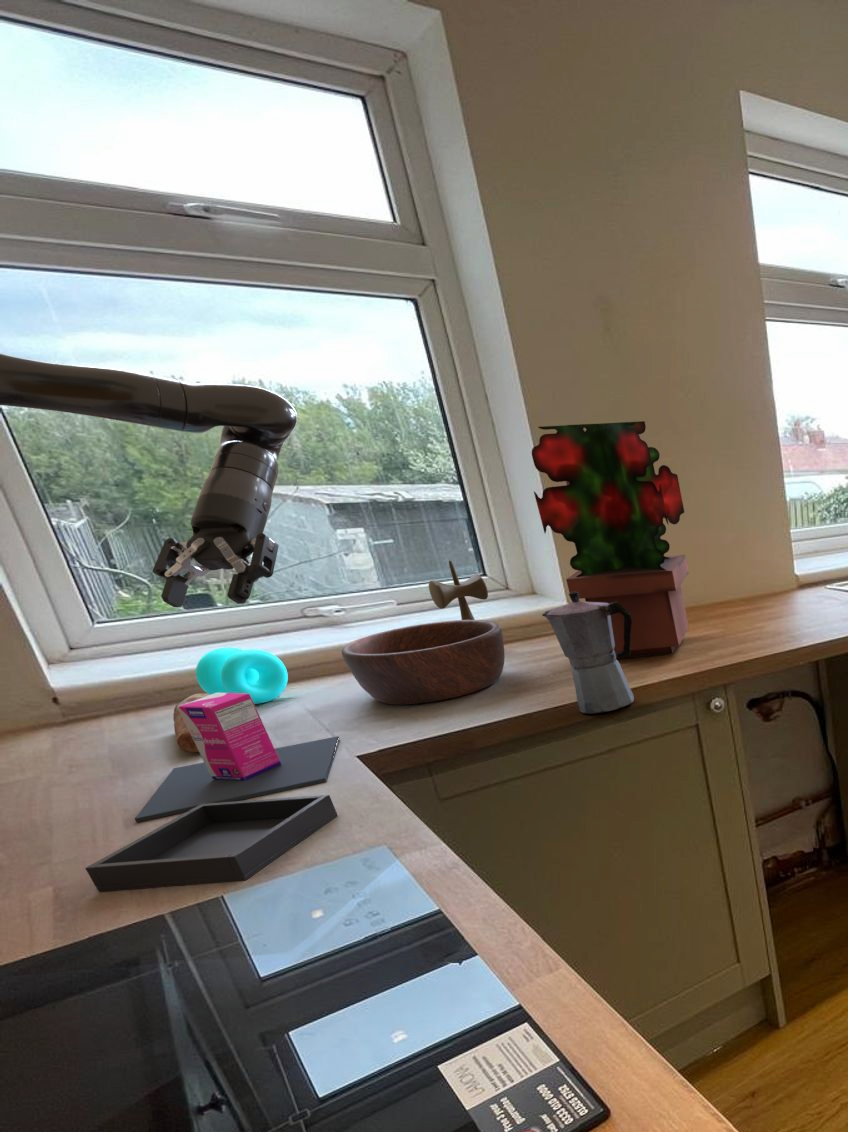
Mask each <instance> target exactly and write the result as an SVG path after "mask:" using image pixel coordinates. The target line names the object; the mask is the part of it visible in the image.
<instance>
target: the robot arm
mask: <svg viewBox="0 0 848 1132" xmlns="http://www.w3.org/2000/svg"><path fill="white" fill-rule="evenodd" d="M0 406H3V407H4V406H5V407H15V408H17V407H18V408H27V409H35V410H36V409H37V410H46V411H54V412H61V413H68V414H75V415H82V416H88V417H94V418H95V417H96V418H101V419H107V420H113V421H119V422H124V423H130V424H135V425H141V426H147V427H152V428H159V429H165V430H171V431H178V432H182V433H189V434H190V433H191V434H203V433H206V432H208V431H210V430H211V429H214V428H217V427H222V428H221V429H222V430H221V432H220V433H221V434H220V441H219V447H218V450H217V451H216V453H215V456H214V458H213V462H212V465H211V468H210V470H209V473H208V475H207V477H206V478H205V480H204V482H203V484H202V486H201V489H200V492H199V496H198V498H197V501H196V504H195V507H194V510H193V513H192V516H191V519H190V526H191V528H192V535H191V537H190V538H189V539H188V540H187V541H177V540H176V539H175V538H172V537H169V538H166V539H165V540H164V542H163V544H162V547H161V549H160V552H159V554H158V557H157V559H156V561H155V563H154V565H153V568H152V573H153V574H155V575H156V576H158V577H159V578H161V579H163V580H164V581H165V583H164V586H163V589H162V592H161V595H160V596H161V599H162V601H163V602H164V603H166V604H167V605H169V606H171V607H172V608H182V607H183V605H184V601H185V599H186V596H187V592H188V589H189V585H190V584H191V583H192V582H193V581H194V580H195V579H197V577H200V578H201V577H204V576H206V575H207V574H208V573H209V572H210V571H218V570H227V571H228V570H234V571H235V572H236V573H233V575H232V577H231V581H230V584H229V587H228V590H227V594H226V596H227V599H229V600H231V601H232V602H234V603H236V604H238V605H243V604H246V602H247V600H248V599H250V597H251V593H252V590H253V587H254V583H257V582H258V581H259V579H260V578H263V577H264V578H265V579H269V578H271V577H272V576H273V575H274V571H275V566H276V561H277V556H278V553H279V544H278V542H276V541H275V540H273V539H272V538H271V537H269V536H268V535H266V534H265V533H264V531H265V528H266V525H267V521H268V518H269V514H270V511H271V507H272V500H273V498H272V497H273V492H274V489H275V486H276V482H277V479H278V475H279V463H278V459H279V456H280V454H281V451H282V448H283V446H284V444H285V442H286V441H287V439H289V436H290V435H291V433H292V432H293V431H294V429H295V428H296V426H297V423H298V414H297V411H296V409H295V408H294V406H293V405H292V404H291V402H290V401H288V400H287V399H286V398H284V397H282V396H281V395H279V394H278V393H276V392H274V391H270V390H268V389H265V388H262V387H258V386H253V385H245V384H232V383H231V384H228V383H191V382H186V381H182V380H177V379H173V378H168V377H163V376H160V375H159V376H158V375H153V374H150V373H149V374H148V373H144V372H137V371H132V370H126V369H117V368H110V367H98V366H87V365H85V366H84V365H73V364H63V363H54V362H46V361H39V360H33V359H27V358H21V357H19V356H18V357H17V356H13V355H9V354H3V353H0ZM250 556H251V560H249V557H250ZM192 559H193V560H194V562H195V563H196V564H198V565H199V566H194V565H193V564H191V562H190V561H192ZM168 566H169V568H167V567H168ZM186 569H187V570H188V571H187V572H185V573H184V574H183V575H181V573H182V572H183V571H185V570H186Z"/></svg>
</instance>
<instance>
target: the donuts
mask: <svg viewBox="0 0 848 1132" xmlns="http://www.w3.org/2000/svg"><path fill="white" fill-rule="evenodd" d="M195 678H196V681H197V683H198V685H199V688H200V689H202V690H203V691H204V692H205V694H210V695H211V694H214V693H246V694H250V696H251V698H252V701H253V703H254V704H257V705H258V704H264V703H268V702H271V701H273V700H275V699H277V698H279V696H281V694H283V692H284V691H285V690H286V688H287V685H288V682H289V674H288V671H287V668H286V666H285V664H284V662H283V661H282V660H281V659H280V658H279V657H278V656H276V655H275V654H273V653H271V652H269V651H266V650H263V649H257V648H256V649H255V648H249V649H241V648H238V647H231V646H224V647H217V648H215V649H212V650H210V651H208V652H207V653H205V654H204V655H203V656H201V658H200V659H199V661H198V663H197V665H196V667H195Z"/></svg>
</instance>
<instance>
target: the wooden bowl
mask: <svg viewBox="0 0 848 1132" xmlns="http://www.w3.org/2000/svg"><path fill="white" fill-rule="evenodd" d="M341 656H342V658H343V660H344V662H345V663H346V665H347V667H348V669H349V670H350V672H351V674H352V676H353V677H354V679H355V680H356V681H357V683H358V684H359V686H360V687H361V688H362V689H363V691H365V692H366V693H367V694H368V695H370V696H371V697H372V698H373V699H375V700H376V701H378V702H381V703H383V704H386V705H387V704H388V705H395V706H396V705H398V706H399V705H405V706H406V705H417V704H418V705H419V704H426V703H432V702H433V703H434V702H439V701H444V700H449V699H454V698H458V697H462V696H465V695H469V694H472V693H475V692H478V691H480V690H483V689H486V688H487V687H490V686H491V685H493V684H495V683H496V682H497V681H498V680H499V678H500V677H501V675H502V673H503V671H504V664H505V659H506V657H505V656H506V655H505V643H504V635H503V631H502V627H501V625H500V624H499V623H497V622H495V621H492V620H487V619H475V620H462V619H455V620H444V621H435V622H428V623H419V624H415V625H408V626H403V627H398V628H394V629H389V630H384V631H380V632H377V633H373V634H370V635H366V636H363V637H360V638H358V639H355V640H353V641H351V642H349V643H347V644H346V645H345V646H343V647H342V649H341Z"/></svg>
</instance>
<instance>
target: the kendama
mask: <svg viewBox="0 0 848 1132" xmlns="http://www.w3.org/2000/svg"><path fill="white" fill-rule="evenodd" d="M448 565H449V569H450V575H451V577H452V580H453V584H446V583H443V582H440V581H437V580H429V582H428V591H429V594H430V597H431V599H432V601H433V604H434V605H435V606H436V607H437V608H438V609H440V610H442V609H443V610H444V609H445V608H446V607H447V606H448V605H449V604H451V602H452V601H454V600H456V599H457V601H458V606H459V611H460V618H461V619H460V620H476V619H475V617H474V615H473V613H472V611H471V608H470V606H469V603H468V601H467V598H466V597H470V598H475V599H478V600H482V601H484V600H487V599H488V598H489V591H488V586H487V583H486V582H485V580H484V578H483V577H482V576H481V574H478V573H477V574H473V575H471V576H469V578H468V579H466V580H465V581H464V582H460V580H459V577H458V574H457V571H456V569H455V566H454V564H453V561H452V560H449V561H448Z"/></svg>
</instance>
